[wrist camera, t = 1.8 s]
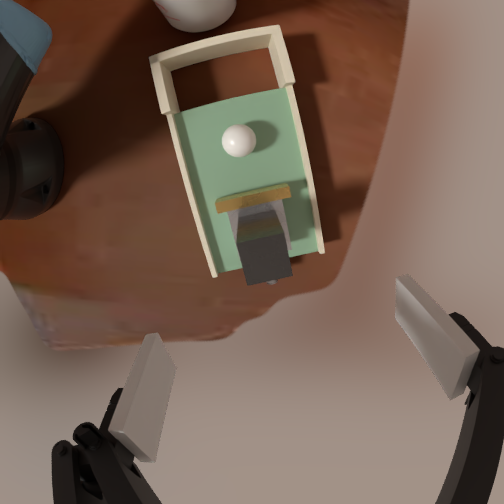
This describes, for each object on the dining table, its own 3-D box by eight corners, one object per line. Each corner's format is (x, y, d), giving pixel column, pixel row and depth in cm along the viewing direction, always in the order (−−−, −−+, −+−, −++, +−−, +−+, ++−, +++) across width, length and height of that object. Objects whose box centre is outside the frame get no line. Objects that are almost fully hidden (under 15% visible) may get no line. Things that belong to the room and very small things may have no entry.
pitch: (214, 267, 38) (211, 285, 33) (161, 67, 28) (148, 57, 23) (318, 244, 37) (329, 259, 33) (274, 39, 27) (279, 24, 23)
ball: (227, 159, 31) (225, 162, 28) (219, 129, 30) (216, 127, 26) (258, 152, 31) (260, 153, 27) (251, 121, 29) (252, 119, 26)
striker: (240, 284, 36) (239, 333, 27) (216, 198, 32) (205, 223, 23) (302, 270, 36) (321, 316, 27) (285, 182, 32) (303, 201, 22)
